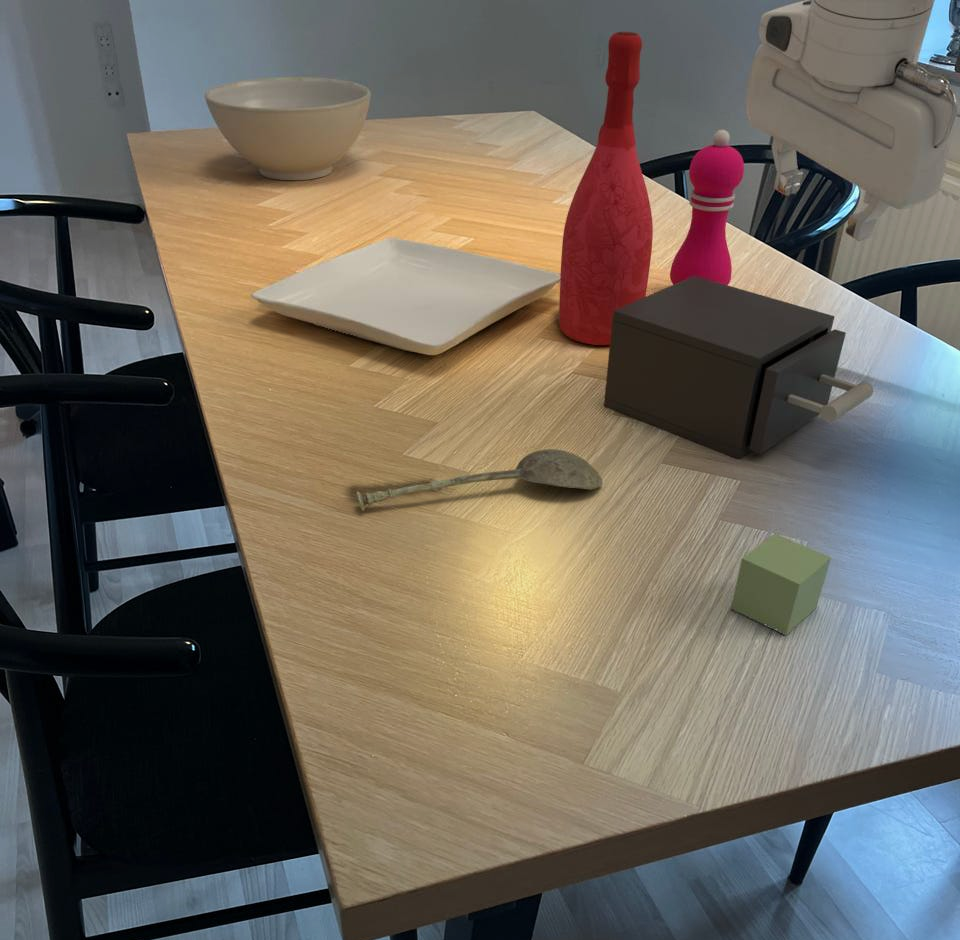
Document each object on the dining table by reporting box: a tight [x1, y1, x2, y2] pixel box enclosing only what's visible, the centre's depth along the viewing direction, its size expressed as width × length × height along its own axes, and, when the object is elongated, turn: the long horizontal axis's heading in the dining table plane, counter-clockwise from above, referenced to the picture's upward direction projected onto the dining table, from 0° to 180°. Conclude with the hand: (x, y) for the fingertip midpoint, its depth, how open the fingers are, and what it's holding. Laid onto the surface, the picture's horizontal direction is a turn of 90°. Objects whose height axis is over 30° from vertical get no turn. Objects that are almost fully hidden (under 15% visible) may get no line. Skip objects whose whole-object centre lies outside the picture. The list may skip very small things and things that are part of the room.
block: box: [730, 533, 832, 635], centre depth 71 cm, size 5×5×5 cm
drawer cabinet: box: [603, 276, 835, 460], centre depth 96 cm, size 16×14×10 cm
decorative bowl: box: [204, 76, 372, 181], centre depth 164 cm, size 27×27×12 cm
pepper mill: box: [669, 129, 745, 286], centre depth 113 cm, size 7×7×20 cm
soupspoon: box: [356, 448, 603, 513], centre depth 85 cm, size 22×3×7 cm
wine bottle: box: [558, 31, 654, 346], centre depth 104 cm, size 10×10×30 cm
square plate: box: [250, 237, 561, 356], centre depth 117 cm, size 27×27×4 cm
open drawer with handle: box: [748, 329, 874, 455], centre depth 93 cm, size 20×13×8 cm, turn 47°
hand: (820, 213), depth 87 cm, fingers open, 8 cm apart
